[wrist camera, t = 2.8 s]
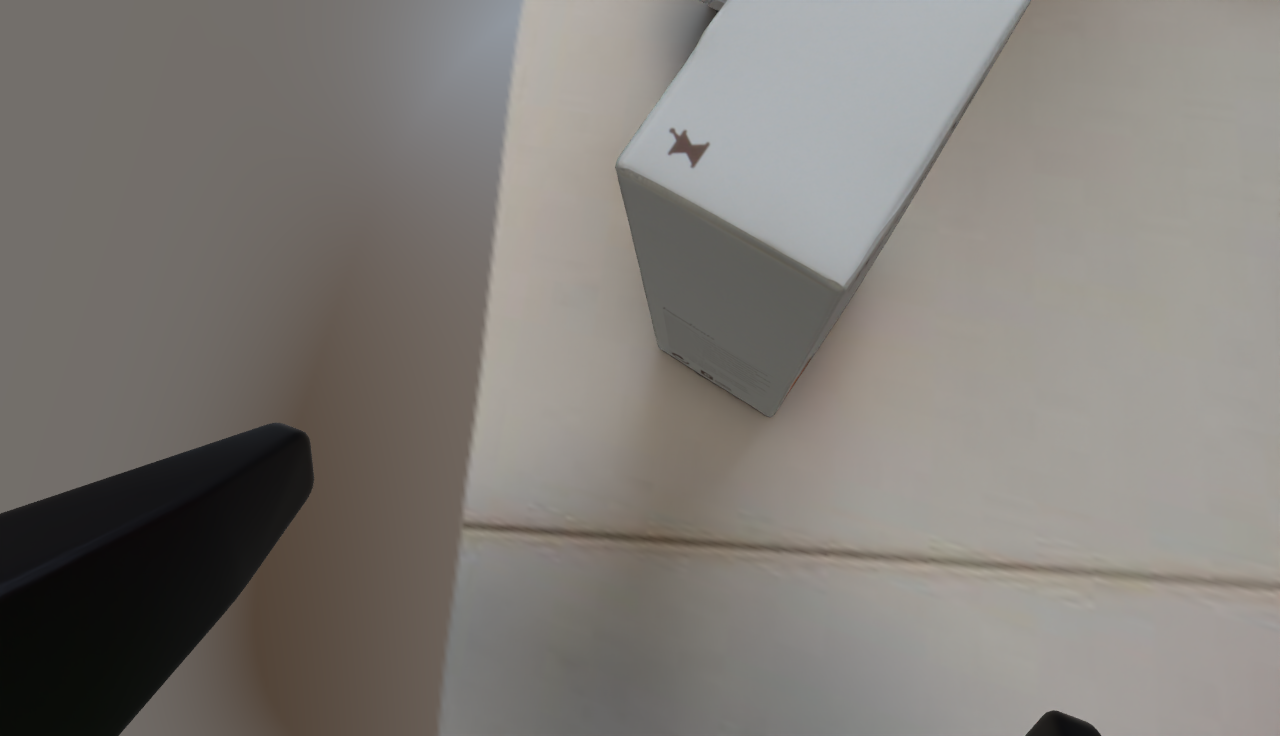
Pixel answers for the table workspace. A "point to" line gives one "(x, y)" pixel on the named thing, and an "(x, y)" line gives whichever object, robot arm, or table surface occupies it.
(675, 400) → the table surface
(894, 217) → the cosmetic box
